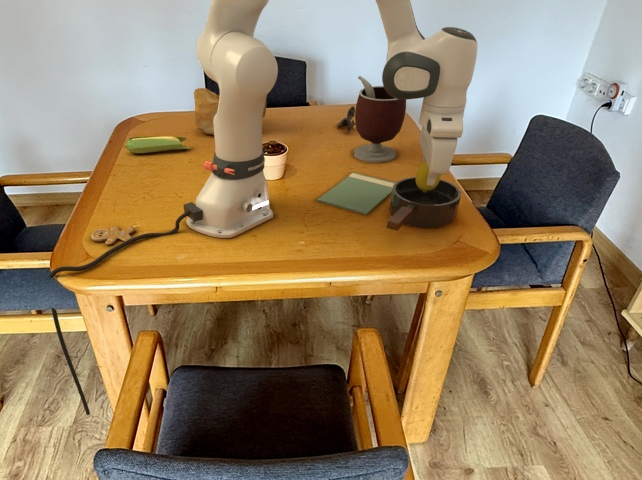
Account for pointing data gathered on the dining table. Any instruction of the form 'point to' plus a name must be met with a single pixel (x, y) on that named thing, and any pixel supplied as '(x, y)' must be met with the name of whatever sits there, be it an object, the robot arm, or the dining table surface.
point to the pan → (426, 203)
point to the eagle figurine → (348, 120)
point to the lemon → (422, 176)
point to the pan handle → (400, 217)
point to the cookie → (112, 235)
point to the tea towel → (358, 193)
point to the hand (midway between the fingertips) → (427, 177)
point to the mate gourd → (377, 122)
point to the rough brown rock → (207, 109)
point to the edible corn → (154, 144)
